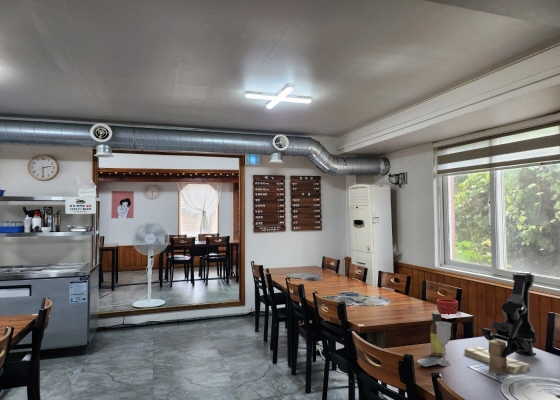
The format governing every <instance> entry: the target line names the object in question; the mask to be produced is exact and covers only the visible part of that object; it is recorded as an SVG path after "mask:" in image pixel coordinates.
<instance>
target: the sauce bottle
mask: <svg viewBox="0 0 560 400" xmlns="http://www.w3.org/2000/svg"><path fill="white" fill-rule="evenodd" d="M431 316H432V320H431V321H432V323H431V325H430V327H429V329H430V333H429V335H430V336H429V339H430V351H431V352H430V353H431V355H432V356H434V357H437V356H439V358H443V353H442V352H443V349H442V348H443V344H441V343H440V341H439V338H438V336H437V325H436V322H442V320H441V319H442V318H441V313H439V312H438V311H437V312H436V311H435V312H432V313H431Z"/></svg>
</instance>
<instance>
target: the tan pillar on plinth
mask: <svg viewBox="0 0 560 400" xmlns="http://www.w3.org/2000/svg"><path fill="white" fill-rule="evenodd" d="M506 346H507V342H506V341H502V340H499V339H496V340H490V341H489V340H488V350H489V354H490V364H488V370H489V371H491V372H494V373H497V374H498V373H499V375H500V376H502V375H507V374H510V373H511V372H510V367H508V366H507V358H506V357H505V358H502V354H503V352H504V350H505V348H506Z"/></svg>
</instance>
